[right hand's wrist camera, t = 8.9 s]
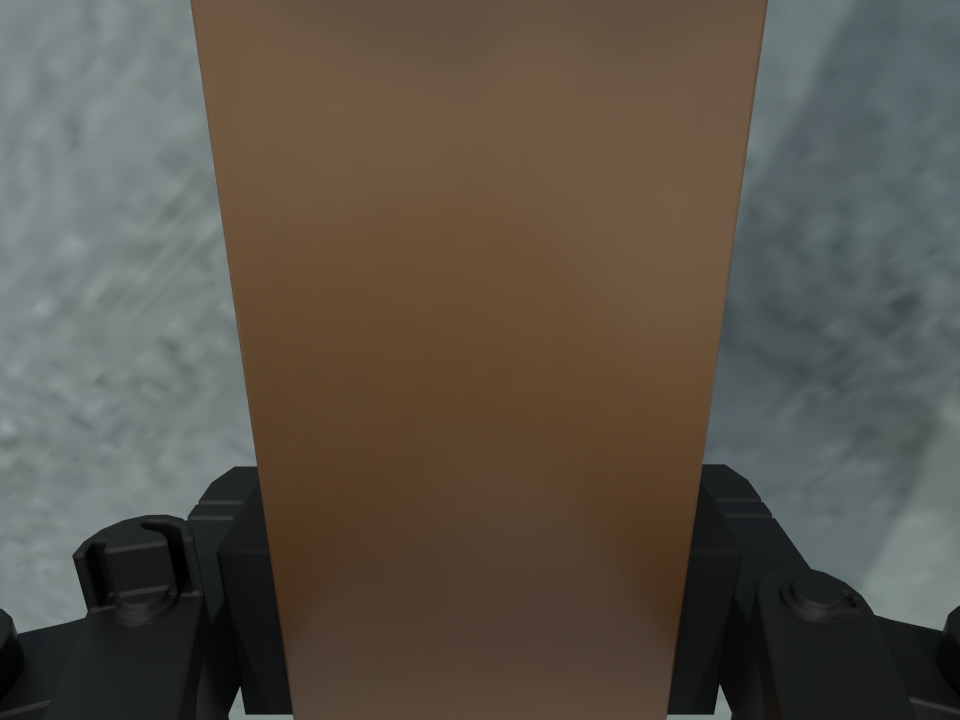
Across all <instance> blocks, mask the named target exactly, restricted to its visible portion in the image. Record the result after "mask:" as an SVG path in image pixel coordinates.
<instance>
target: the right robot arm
mask: <svg viewBox="0 0 960 720" xmlns="http://www.w3.org/2000/svg"><path fill="white" fill-rule="evenodd" d="M73 560H74V563H75V567H76V570H77V574H78V578H79V581H80V585H81V588H82V592H83V595H84V599H85V603H86V606H87V610H88V612H87V615H86V617H85V618H83V619H79V620H76V621H72V622H69V623H65V624H60V625H56V626H51V627H47V628H42V629H38V630H33V631H29V632H24V633H20V634H17V632H16V629H15V626H14V623H13V620H12V617H11V616H9V615H8V614H7V613H6V612H5V611H4V610H2V609H0V720H229V716H228V714H229V712H230V709H231V707H232V704H233V702H234V700H235V697H236V695H237V692H238V690H239V687H241V692H242V698H243V703H244V709H245V714H246V715H293V711H292V704H291V697H290V690H289V683H288V676H287V669H286V662H285V655H284V648H283V641H282V634H281V627H280V620H279V613H278V606H277V599H276V592H275V586H274V579H273V572H272V565H271V558H270V551H269V544H268V537H267V530H266V523H265V516H264V509H263V502H262V495H261V488H260V481H259V474H258V467H233V468H232V469H231V470H229V471H228V472H226V473H225V474H223V475H222V476H221V477H219V478H218V479H216V480H215V481H213V482H212V483H211V484H210V486H209V487H208V489H207V490H206V491H205V493H204V494H203V496H202V497H201V499H200V500H199V504H198V505H196V506H195V507H194V509H193V510H192V511H191V513H190V514H189V516H188V520H187V521H185V520H183V519H182V518H178V517H174V516H170V515H145V516H141V517H136V518H132V519H128V520H123V521H121V522H119V523H116V524H114V525H111V526H109V527H107V528H104V529H102V530H100V531H99V532H97V533H96V534H95V535H93V536H92V537H90V538H89V539H87V540H86V541H84V542H83V543H82V545H81V546H80V547H79V548H78V549H77V551H76V552H75V553H74V554H73ZM719 683H720V685H721V688H722V690H723V693H724V695H725V698H726V700H727V702H728V705H729V707H730V710H731V712H732V716H731V720H960V606H958V607H957V608H956V609H954V610H953V611H952V612H951V613H950V614H948V617H947V620H946V623H945V626H944V629H943V631H939V630H935V629H930V628H926V627H921V626H917V625H912V624H908V623H903V622H899V621H894V620H890V619H887V618H883V617H880V616H876V615H874V614H873V611H872V610H871V608H870V607H869V605H868V604H867V602H866V601H865V600H864V598H863V597H862V595H860V594H859V593H858V592H856V591H855V590H854V589H853V588H851V587H850V586H849V585H847V584H846V583H845V582H843V581H841V580H839V579H837V578H835V577H833V576H830V575H828V574H826V573H824V572H820V571H817V570H813V569H811V568H810V567H809V566H808V564H807V563H806V561H805V560H804V559H803V557H802V556H801V554H800V553H799V552H798V550H797V549H796V547H795V546H794V545H793V543H792V542H791V540H790V539H789V537H788V536H787V535H786V533H785V532H784V530H783V529H782V528H781V526H780V525H779V523H778V522H777V521H776V519H775V518H772V514H771V512H770V511H769V509H768V508H767V507H766V505H765V504H764V503H761V498H760V497H759V495H758V494H757V492H756V491H755V490H754V488H753V487H752V485H751V484H750V483H749V481H748V480H747V479H745V478H744V477H742V476H741V475H739V474H738V473H737V472H735V471H734V470H732V469H731V468H729V467H728V466H726V465H725V464H702V470H701V477H700V485H699V492H698V499H697V506H696V513H695V520H694V527H693V534H692V541H691V548H690V555H689V562H688V570H687V577H686V584H685V591H684V598H683V605H682V612H681V619H680V626H679V633H678V640H677V647H676V654H675V662H674V669H673V676H672V683H671V690H670V697H669V704H668V711H667V715H714V711H715V706H716V700H717V695H718V689H719Z"/></svg>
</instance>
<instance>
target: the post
mask: <svg viewBox="0 0 960 720" xmlns="http://www.w3.org/2000/svg"><path fill="white" fill-rule="evenodd" d="M190 1H191V8H192V15H193V22H194V29H195V36H196V43H197V50H198V57H199V63H200V70H201V77H202V84H203V91H204V98H205V105H206V112H207V119H208V126H209V133H210V140H211V147H212V154H213V161H214V168H215V175H216V182H217V189H218V196H219V203H220V210H221V217H222V224H223V231H224V237H225V244H226V251H227V258H228V265H229V272H230V279H231V286H232V293H233V300H234V307H235V314H236V321H237V328H238V335H239V342H240V349H241V356H242V363H243V370H244V377H245V384H246V391H247V398H248V405H249V411H250V418H251V425H252V432H253V439H254V446H255V453H256V460H257V467H258V474H259V481H260V488H261V495H262V502H263V509H264V516H265V523H266V530H267V537H268V544H269V551H270V558H271V565H272V572H273V579H274V586H275V592H276V599H277V606H278V613H279V620H280V627H281V634H282V641H283V648H284V655H285V662H286V669H287V676H288V683H289V690H290V697H291V704H292V711H293V718H294V720H666V718H667V711H668V704H669V697H670V690H671V683H672V676H673V669H674V662H675V654H676V647H677V640H678V633H679V626H680V619H681V612H682V605H683V598H684V591H685V584H686V577H687V570H688V562H689V555H690V548H691V541H692V534H693V527H694V520H695V513H696V506H697V499H698V492H699V485H700V477H701V470H702V463H703V456H704V449H705V442H706V435H707V428H708V421H709V414H710V407H711V400H712V393H713V385H714V378H715V371H716V364H717V357H718V350H719V343H720V336H721V329H722V322H723V315H724V308H725V301H726V293H727V286H728V279H729V272H730V265H731V258H732V251H733V244H734V237H735V230H736V223H737V216H738V208H739V201H740V194H741V187H742V180H743V173H744V166H745V159H746V152H747V145H748V138H749V131H750V124H751V116H752V109H753V102H754V95H755V88H756V81H757V74H758V67H759V60H760V53H761V46H762V39H763V32H764V24H765V17H766V10H767V3H768V0H190Z"/></svg>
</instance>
